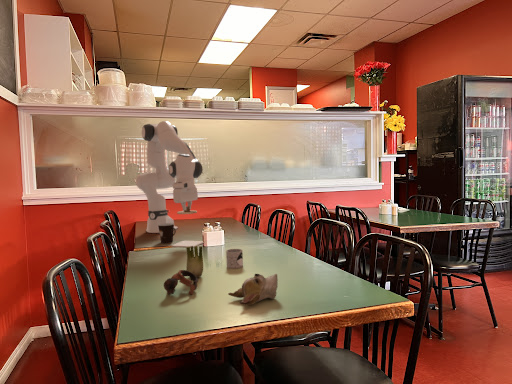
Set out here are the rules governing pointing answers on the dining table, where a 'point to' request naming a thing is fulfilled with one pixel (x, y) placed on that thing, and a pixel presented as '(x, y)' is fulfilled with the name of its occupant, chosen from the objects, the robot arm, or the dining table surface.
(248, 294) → the ceramic sculpture
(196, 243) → the grey mat
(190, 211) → the wooden lid
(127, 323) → the dining table surface
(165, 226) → the coffee mug
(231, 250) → the mug
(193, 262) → the fennel bulb
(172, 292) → the brown black curved piece
